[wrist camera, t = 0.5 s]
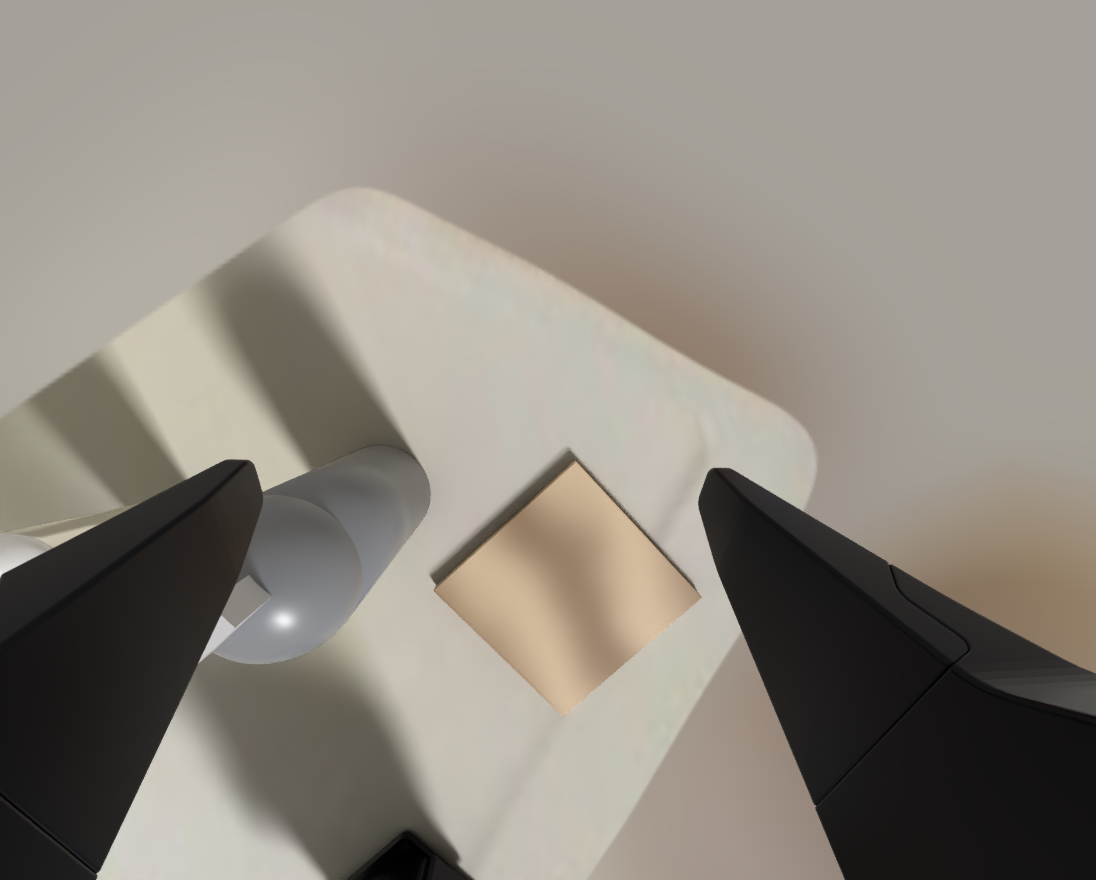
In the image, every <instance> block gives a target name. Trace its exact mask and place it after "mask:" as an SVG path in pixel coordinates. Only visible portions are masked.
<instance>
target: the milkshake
mask: <svg viewBox="0 0 1096 880" xmlns="http://www.w3.org/2000/svg"><path fill="white" fill-rule="evenodd" d="M138 504H140V503H138ZM138 504H134V505H130V506H126V507H122V508H118V509H114V510H110V511H105V512H101V513H97V514H92V515H88V516H82V517H77V518H71V519H65V520H60V521H55V522H50V523H45V524H40V525H35V526H30V527H26V528H21V529H16V530H11V531H6V532H2V533H0V577H1V575H2V574H3V573H5V572H7V571H9V570H11V569H13V568H15V567H17V566H19V565H21V564H23V563H25V562H26V561H28V560H30V559H32V558H34V557H36V556H38V555H40V554H42V553H44V552H46V551H48V550H50V549H52V548H54V547H56V546H58V545H60V544H62V543H64V542H66V541H68V540H70V539H71V538H73V537H75V536H77V535H79V534H81V533H83V532H85V531H87V530H89V529H91V528H93V527H95V526H97V525H99V524H101V523H103V522H105V521H107V520H109V519H111V518H113V517H114V516H116V515H118V514H120V513H122V512H124V511H126V510H128V509H130V508H132V507H134V506H136V505H138Z"/></svg>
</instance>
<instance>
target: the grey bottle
mask: <svg viewBox="0 0 1096 880" xmlns="http://www.w3.org/2000/svg"><path fill="white" fill-rule="evenodd" d="M430 496H431V493H430V485H429V481H428V478H427V475H426V473H425V471H424V470H423V468H422V467H421V465H420V464H419V463H418V462H417V461H416V460H415V459H414V458H413V457H412V456H410V455H409V454H407V453H406V452H404V451H402V450H400V449H397V448H395V447H390V446H384V445H375V446H369V447H365V448H362V449H360V450H357V451H355V452H353V453H351V454H348V455H346V456H344V457H341V458H339V459H337V460H335V461H332V462H330V463H328V464H326V465H323V466H321V467H319V468H316V469H314V470H312V471H310V472H307V473H305V474H303V475H300V476H298V477H296V478H294V479H291V480H289V481H287V482H284V483H282V484H280V485H278V486H275V487H273V488H271V489H269V490H266V491H264V492H263V506H262V510H261V513H260V516H259V519H258V522H257V525H256V528H255V531H254V534H253V537H252V540H251V543H250V546H249V549H248V552H247V555H246V558H245V561H244V564H243V567H242V570H241V572H240V575H239V578H238V580H237V582H236V584H235V587H234V589H233V591H232V593H231V595H230V598H229V600H228V602H227V604H226V606H225V608H224V610H223V612H222V614H221V616H220V619H219V621H218V623H217V625H216V627H215V629H214V631H213V633H212V635H211V638H210V640H209V642H208V644H207V646H206V648H205V650H204V652H203V654H202V657H201V659H200V661H199V663H200V662H201V661H202V660H203V659H204V658H206V657H207V656H208V655H209V654H210V653H211V652H212V653H214V654H216V655H218V656H221V657H223V658H225V659H228V660H231V661H234V662H239V663H244V664H272V663H278V662H282V661H286V660H290V659H293V658H296V657H299V656H301V655H303V654H306V653H308V652H310V651H312V650H313V649H315V648H317V647H319V646H320V645H322V644H323V643H324V642H326V641H327V640H328V639H329V638H331V637H332V636H333V635H334V634H335V633H336V632H337V631H338V630H339V629H340V628H341V627H342V626H343V625H344V624H345V623H346V622H347V620H348V619H349V617H350V616H351V615H352V613H353V612H354V611H355V609H356V608H357V607H358V605H359V604H360V603H361V601H362V600H363V599H364V597H365V596H366V595H367V593H368V592H369V591H370V589H371V588H372V587H373V585H374V584H375V583H376V581H377V580H378V579H379V577H380V576H381V575H382V573H383V572H384V571H385V569H386V568H387V567H388V565H389V564H390V563H391V561H392V560H393V559H394V557H395V556H396V555H397V553H398V552H399V551H400V549H401V548H402V547H403V545H404V544H405V543H406V541H407V540H408V539H409V537H410V536H411V535H412V533H413V532H414V531H415V529H416V528H417V527H418V525H419V524H420V523H421V521H422V520H423V518H424V517H425V515H426V513H427V510H428V508H429V504H430ZM199 663H198V664H199Z"/></svg>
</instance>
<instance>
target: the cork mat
mask: <svg viewBox="0 0 1096 880" xmlns="http://www.w3.org/2000/svg"><path fill="white" fill-rule="evenodd" d="M434 592H435V593H436V594H437V595H438V596H439V597H440V598H441V599H443V600H444V601H445V602H446V603H447V604H448V605H449V606H450V607H451V608H452V609H453V610H454V611H455V612H456V613H457V614H458V615H459V616H460V617H461V618H462V619H463V620H464V621H465V622H466V623H467V624H468V625H469V626H470V627H471V628H472V629H473V630H474V631H475V632H476V633H477V634H478V635H479V636H481V637H482V638H483V639H484V640H485V641H486V642H487V643H488V644H489V645H490V646H491V647H492V648H493V649H494V650H495V651H496V652H497V653H498V654H499V655H500V656H501V657H502V658H503V659H504V660H505V661H506V662H507V663H508V664H509V665H510V666H511V667H512V668H513V669H514V670H515V671H516V672H517V673H519V674H520V675H521V676H522V677H523V678H524V679H525V680H526V681H527V682H528V683H529V684H530V685H531V686H532V687H533V688H534V689H535V690H536V691H537V692H538V693H539V694H540V695H541V696H542V697H543V698H544V699H545V700H546V701H547V702H548V703H549V704H550V705H551V706H552V707H553V708H554V709H555V710H557V711H558V712H559V713H560V714H561V715H562V716H564V715H565V714H566V713H568V712H569V711H570V710H571V709H572V708H573V707H575V706H576V705H577V704H578V703H579V702H580V701H582V700H583V699H584V698H585V697H586V696H587V695H589V694H590V693H591V692H592V691H593V690H594V689H596V688H597V687H598V686H599V685H600V684H601V683H603V682H604V681H605V680H606V679H607V678H608V677H610V676H611V675H612V674H613V673H614V672H615V671H617V670H618V669H619V668H620V667H621V666H622V665H624V664H625V663H626V662H627V661H628V660H629V659H631V658H632V657H633V656H634V655H635V654H636V653H638V652H639V651H640V650H641V649H642V648H643V647H645V646H646V645H647V644H648V643H649V642H650V641H652V640H653V639H654V638H655V637H656V636H657V635H659V634H660V633H661V632H662V631H663V630H664V629H666V628H667V627H668V626H669V625H670V624H671V623H673V622H674V621H675V620H676V619H677V618H678V617H680V616H681V615H682V614H683V613H684V612H685V611H687V610H688V609H689V608H690V607H691V606H692V605H694V604H695V603H696V602H697V601H698V600H699V599H701V598H702V597H701V596H700V595H699V593H698V592H697V591H696V590H695V589H694V588H693V587H692V586H691V584H690V583H689V582H688V581H687V580H686V579H685V578H684V577H683V576H682V575H681V574H680V573H679V572H678V570H677V569H676V568H675V567H674V566H673V565H672V564H671V563H670V562H669V561H668V560H667V559H666V557H665V556H664V555H663V554H662V553H661V552H660V551H659V550H658V549H657V548H656V547H655V546H654V545H653V543H652V542H651V541H650V540H649V539H648V538H647V537H646V536H645V535H644V534H643V533H642V532H641V530H640V529H639V528H638V527H637V526H636V525H635V524H634V523H633V522H632V521H631V520H630V519H629V518H628V516H627V515H626V514H625V513H624V512H623V511H622V510H621V509H620V508H619V507H618V506H617V505H616V504H615V502H614V501H613V500H612V499H611V498H610V497H609V496H608V495H607V494H606V493H605V492H604V491H603V489H602V488H601V487H600V486H599V485H598V484H597V483H596V482H595V481H594V480H593V479H592V478H591V477H590V475H589V474H588V473H587V472H586V471H585V470H584V469H583V468H582V467H581V466H580V465H579V464H578V462H577V461H576V460H574V461H573V462H572V463H571V464H570V465H569V466H568V467H566V468H565V469H564V470H563V471H562V472H561V473H560V474H559V475H558V476H556V477H555V478H554V479H553V480H552V481H551V482H550V483H549V484H548V485H547V486H545V487H544V488H543V489H542V490H541V491H540V492H539V493H538V494H537V495H535V496H534V497H533V498H532V499H531V500H530V501H529V502H528V503H527V504H526V505H524V506H523V507H522V508H521V509H520V510H519V511H518V512H517V513H516V514H515V515H513V516H512V517H511V518H510V519H509V520H508V521H507V522H506V523H505V524H503V525H502V526H501V527H500V528H499V529H498V530H497V531H496V532H495V533H494V534H492V535H491V536H490V537H489V538H488V539H487V540H486V541H485V542H484V543H482V544H481V545H480V546H479V547H478V548H477V549H476V550H475V551H474V552H473V553H471V554H470V555H469V556H468V557H467V558H466V559H465V560H464V561H463V562H461V563H460V564H459V565H458V566H457V567H456V568H455V569H454V570H453V571H452V572H450V573H449V574H448V575H447V576H446V577H445V578H444V579H443V580H442V581H440V582H439V583H438V584H437V585H436V586H435V589H434Z"/></svg>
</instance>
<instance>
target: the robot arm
mask: <svg viewBox="0 0 1096 880" xmlns="http://www.w3.org/2000/svg"><path fill="white" fill-rule="evenodd" d="M262 506H263V492H262V489H261V486H260V482H259V479H258V475H257V472H256V468H255V466H254V464H253V463H252V462H251V461H249V460H234V459H228V460H224V461H222V462H220V463H218V464H216V465H214V466H212V467H210V468H208V469H206V470H204V471H202V472H200V473H199V474H197V475H195V476H193V477H191V478H189V479H187V480H185V481H183V482H181V483H179V484H177V485H175V486H173V487H171V488H169V489H167V490H165V491H163V492H161V493H159V494H157V495H156V496H154V497H152V498H150V499H148V500H146V501H144V502H142V503H140V504H138V505H136V506H134V507H132V508H130V509H128V510H126V511H124V512H122V513H120V514H118V515H116V516H114V517H113V518H111V519H109V520H107V521H105V522H103V523H101V524H99V525H97V526H95V527H93V528H91V529H89V530H87V531H85V532H83V533H81V534H79V535H77V536H75V537H73V538H71V539H70V540H68V541H66V542H64V543H62V544H60V545H58V546H56V547H54V548H52V549H50V550H48V551H46V552H44V553H42V554H40V555H38V556H36V557H34V558H32V559H30V560H28V561H26V562H25V563H23V564H21V565H19V566H17V567H15V568H13V569H11V570H9V571H7V572H5V573H3V574H2V575H1V577H0V880H96V879H97V874H96V873H98V872H99V871H100V870H101V867H102V865H103V863H104V861H105V859H106V857H107V855H108V853H109V851H110V848H111V846H112V844H113V842H114V840H115V838H116V836H117V834H118V832H119V829H120V827H121V825H122V823H123V821H124V819H125V817H126V815H127V813H128V810H129V808H130V806H131V804H132V802H133V800H134V798H135V796H136V794H137V792H138V789H139V787H140V785H141V783H142V781H143V779H144V777H145V775H146V773H147V770H148V768H149V766H150V764H151V762H152V760H153V758H154V756H155V754H156V751H157V749H158V747H159V745H160V743H161V741H162V739H163V737H164V735H165V732H166V730H167V728H168V726H169V724H170V722H171V720H172V718H173V716H174V713H175V711H176V709H177V707H178V705H179V703H180V701H181V699H182V697H183V695H184V692H185V690H186V688H187V686H188V684H189V682H190V680H191V678H192V676H193V673H194V671H195V669H196V667H197V665H198V663H199V661H200V659H201V657H202V654H203V652H204V650H205V648H206V646H207V644H208V642H209V640H210V638H211V635H212V633H213V631H214V629H215V627H216V625H217V623H218V621H219V619H220V616H221V614H222V612H223V610H224V608H225V606H226V604H227V602H228V600H229V598H230V595H231V593H232V591H233V589H234V587H235V584H236V582H237V580H238V578H239V575H240V572H241V570H242V567H243V564H244V561H245V558H246V555H247V552H248V549H249V546H250V543H251V540H252V537H253V534H254V531H255V528H256V525H257V522H258V519H259V516H260V513H261V510H262ZM698 506H699V511H700V514H701V518H702V521H703V525H704V528H705V532H706V535H707V539H708V542H709V545H710V549H711V552H712V556H713V559H714V562H715V566H716V569H717V571H718V574H719V577H720V579H721V582H722V584H723V587H724V589H725V591H726V594H727V596H728V599H729V601H730V603H731V606H732V608H733V611H734V613H735V615H736V618H737V620H738V623H739V625H740V627H741V630H742V632H743V635H744V637H745V639H746V642H747V644H748V647H749V649H750V652H751V654H752V656H753V659H754V661H755V663H756V666H757V668H758V671H759V673H760V676H761V678H762V680H763V683H764V685H765V688H766V690H767V693H768V695H769V697H770V700H771V702H772V705H773V707H774V709H775V712H776V714H777V717H778V719H779V721H780V724H781V726H782V729H783V731H784V733H785V736H786V738H787V741H788V743H789V746H790V748H791V750H792V753H793V755H794V757H795V760H796V762H797V765H798V767H799V769H800V772H801V774H802V777H803V779H804V782H805V784H806V787H807V789H808V791H809V794H810V796H811V799H812V801H813V803H814V805H817V806H816V807H815V809H816V811H817V814H818V816H819V819H820V821H821V823H822V826H823V828H824V830H825V833H826V835H827V838H828V840H829V843H830V845H831V848H832V850H833V852H834V855H835V857H836V860H837V862H838V864H839V867H840V869H841V872H842V874H843V876H844V879H845V880H1096V673H1093V672H1091V671H1088V670H1086V669H1084V668H1081V667H1078V666H1077V665H1075V664H1073V663H1071V662H1069V661H1067V660H1065V659H1063V658H1061V657H1059V656H1057V655H1055V654H1053V653H1051V652H1049V651H1048V650H1046V649H1044V648H1042V647H1040V646H1038V645H1036V644H1034V643H1032V642H1031V641H1029V640H1027V639H1025V638H1023V637H1021V636H1019V635H1018V634H1016V633H1014V632H1012V631H1010V630H1008V629H1006V628H1004V627H1003V626H1001V625H999V624H997V623H995V622H993V621H991V620H989V619H987V618H986V617H984V616H982V615H980V614H978V613H976V612H974V611H973V610H971V609H969V608H967V607H965V606H963V605H962V604H960V603H958V602H956V601H954V600H952V599H951V598H949V597H947V596H945V595H943V594H942V593H940V592H938V591H936V590H935V589H933V588H931V587H930V586H928V585H926V584H924V583H922V582H921V581H919V580H917V579H916V578H914V577H912V576H911V575H909V574H907V573H905V572H904V571H902V570H901V569H899V568H897V567H896V566H894V565H889V564H888V562H887V561H885V560H884V559H882V558H880V557H879V556H877V555H875V554H874V553H872V552H870V551H868V550H867V549H865V548H863V547H862V546H860V545H858V544H857V543H855V542H853V541H852V540H850V539H848V538H847V537H845V536H843V535H841V534H840V533H838V532H837V531H835V530H833V529H832V528H830V527H828V526H826V525H825V524H823V523H821V522H820V521H818V520H816V519H815V518H813V517H811V516H810V515H808V514H806V513H805V512H803V511H801V510H800V509H798V508H796V507H795V506H793V505H791V504H790V503H788V502H786V501H785V500H783V499H781V498H779V497H778V496H776V495H774V494H773V493H771V492H769V491H768V490H766V489H764V488H763V487H761V486H759V485H758V484H756V483H754V482H753V481H751V480H749V479H748V478H746V477H744V476H743V475H741V474H739V473H738V472H736V471H734V470H732V469H730V468H712V469H710V470H709V472H708V473H707V476H706V479H705V482H704V484H703V487H702V490H701V493H700V496H699V501H698ZM405 842H407V843H405ZM348 880H466V879H465V878H463V877H462V876H461V875H460V874H459V873H458V872H457V871H456V870H454V869H453V868H452V867H451V866H450V865H449V864H448V863H446V862H445V861H444V860H443V859H442V858H441V857H440V856H438V855H437V854H436V853H435V852H434V851H433V850H432V849H430V848H429V847H428V846H427V845H426V844H425V843H424V842H422V841H421V840H420V839H419V838H418V837H417V836H416V835H414V834H413V833H411V832H408V831H407V832H403V833H401V834H400V835H399V836H398V837H397V838H395V839H394V840H393V841H392V842H391V843H390V844H388V845H387V846H386V847H385V848H384V849H383V850H381V851H380V852H379V853H378V854H377V855H376V856H375V857H373V858H372V859H371V860H370V861H369V862H368V863H366V864H365V865H364V866H363V867H362V868H361V869H359V870H358V871H357V872H356V873H355V874H354V875H352V876H351V877H350V878H349V879H348Z"/></svg>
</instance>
